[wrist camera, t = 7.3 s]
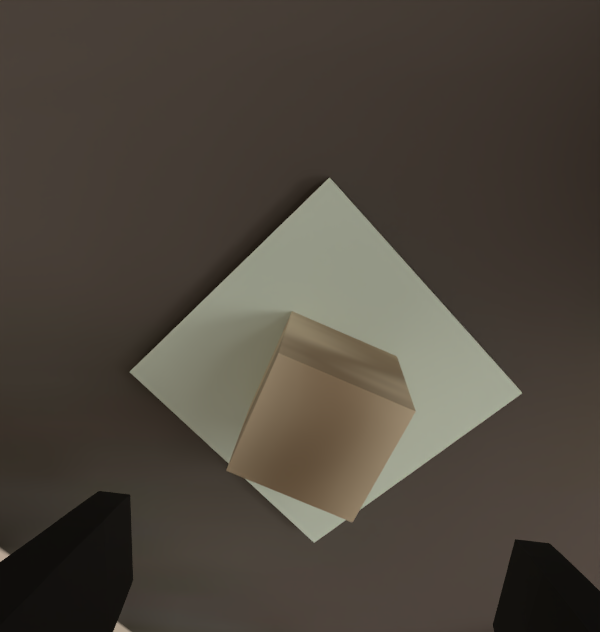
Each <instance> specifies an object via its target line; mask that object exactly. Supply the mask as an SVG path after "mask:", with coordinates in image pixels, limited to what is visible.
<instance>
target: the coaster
mask: <svg viewBox="0 0 600 632" xmlns="http://www.w3.org/2000/svg"><path fill="white" fill-rule="evenodd" d="M292 311H293V312H295V313H298V314H300V315H302V316H304V317H307V318H309V319H311V320H314V321H316V322H318V323H321V324H323V325H325V326H328V327H330V328H332V329H335V330H337V331H339V332H342V333H344V334H346V335H349V336H351V337H353V338H356V339H358V340H360V341H363V342H365V343H367V344H370V345H372V346H374V347H377V348H379V349H381V350H383V351H386V352H388V353H390V354H393V355H395V356H397V358H398V361H399V364H400V367H401V370H402V372H403V375H404V378H405V381H406V384H407V387H408V390H409V393H410V396H411V399H412V402H413V405H414V408H415V410H416V412H415V414H414V415H413V417H412V419H411V421H410V422H409V424H408V426H407V428H406V429H405V431H404V433H403V435H402V436H401V438H400V440H399V442H398V444H397V445H396V447H395V449H394V451H393V452H392V454H391V456H390V458H389V459H388V461H387V463H386V465H385V466H384V468H383V470H382V472H381V473H380V475H379V477H378V479H377V480H376V482H375V484H374V486H373V487H372V489H371V491H370V493H369V494H368V496H367V498H366V500H365V501H364V503H363V505H362V507H361V508H360V509H362V508H363V507H365V506H366V505H367V504H369V503H370V502H372V501H373V500H374V499H376V498H377V497H379V496H380V495H381V494H383V493H384V492H386V491H387V490H388V489H390V488H391V487H392V486H394V485H395V484H397V483H398V482H399V481H401V480H402V479H404V478H405V477H406V476H408V475H409V474H411V473H412V472H413V471H415V470H416V469H418V468H419V467H420V466H422V465H423V464H424V463H426V462H427V461H429V460H430V459H431V458H433V457H434V456H436V455H437V454H438V453H440V452H441V451H443V450H444V449H445V448H447V447H448V446H450V445H451V444H452V443H454V442H455V441H456V440H458V439H459V438H461V437H462V436H463V435H465V434H466V433H468V432H469V431H470V430H472V429H473V428H475V427H476V426H477V425H479V424H480V423H482V422H483V421H484V420H486V419H487V418H488V417H490V416H491V415H493V414H494V413H495V412H497V411H498V410H500V409H501V408H502V407H504V406H505V405H507V404H508V403H509V402H511V401H512V400H514V399H515V398H516V397H518V396H519V395H520V394H522V392H521V391H520V390H519V388H518V387H517V386H516V385H515V384H514V383H513V382H512V380H511V379H510V378H509V377H508V376H507V375H506V374H505V373H504V371H503V370H502V369H501V368H500V367H499V366H498V365H497V364H496V363H495V361H494V360H493V359H492V358H491V357H490V356H489V355H488V354H487V352H486V351H485V350H484V349H483V348H482V347H481V346H480V345H479V344H478V342H477V341H476V340H475V339H474V338H473V337H472V336H471V335H470V333H469V332H468V331H467V330H466V329H465V328H464V327H463V326H462V325H461V323H460V322H459V321H458V320H457V319H456V318H455V317H454V316H453V314H452V313H451V312H450V311H449V310H448V309H447V308H446V307H445V306H444V304H443V303H442V302H441V301H440V300H439V299H438V298H437V297H436V295H435V294H434V293H433V292H432V291H431V290H430V289H429V288H428V287H427V285H426V284H425V283H424V282H423V281H422V280H421V279H420V278H419V276H418V275H417V274H416V273H415V272H414V271H413V270H412V269H411V268H410V266H409V265H408V264H407V263H406V262H405V261H404V260H403V259H402V257H401V256H400V255H399V254H398V253H397V252H396V251H395V250H394V249H393V247H392V246H391V245H390V244H389V243H388V242H387V241H386V240H385V238H384V237H383V236H382V235H381V234H380V233H379V232H378V231H377V230H376V228H375V227H374V226H373V225H372V224H371V223H370V222H369V221H368V219H367V218H366V217H365V216H364V215H363V214H362V213H361V212H360V211H359V209H358V208H357V207H356V206H355V205H354V204H353V203H352V202H351V200H350V199H349V198H348V197H347V196H346V195H345V194H344V193H343V192H342V190H341V189H340V188H339V187H338V186H337V185H336V184H335V183H334V182H333V180H332V179H331V178H329V179H327V180H326V181H325V182H324V183H323V184H322V185H321V186H320V187H319V188H318V189H317V190H316V191H315V192H314V193H313V194H312V195H311V196H310V197H309V198H308V199H307V200H306V201H305V202H304V203H303V204H302V205H301V206H300V207H299V208H298V209H297V210H296V211H295V212H294V213H292V214H291V215H290V216H289V217H288V218H287V219H286V220H285V221H284V222H283V223H282V224H281V225H280V226H279V227H278V228H277V229H276V230H275V231H274V232H273V233H272V234H271V235H270V236H269V237H268V238H267V239H266V240H265V241H264V242H263V243H262V244H261V245H260V246H259V247H258V248H256V249H255V250H254V251H253V252H252V253H251V254H250V255H249V256H248V257H247V258H246V259H245V260H244V261H243V262H242V263H241V264H240V265H239V266H238V267H237V268H236V269H235V270H234V271H233V272H232V273H231V274H230V275H229V276H228V277H227V278H226V279H225V280H224V281H223V282H222V283H220V284H219V285H218V286H217V287H216V288H215V289H214V290H213V291H212V292H211V293H210V294H209V295H208V296H207V297H206V298H205V299H204V300H203V301H202V302H201V303H200V304H199V305H198V306H197V307H196V308H195V309H194V310H193V311H192V312H191V313H190V314H189V315H188V316H187V317H185V318H184V319H183V320H182V321H181V322H180V323H179V324H178V325H177V326H176V327H175V328H174V329H173V330H172V331H171V332H170V333H169V334H168V335H167V336H166V337H165V338H164V339H163V340H162V341H161V342H160V343H159V344H158V345H157V346H156V347H155V348H154V349H153V350H152V351H151V352H149V353H148V354H147V355H146V356H145V357H144V358H143V359H142V360H141V361H140V362H139V363H138V364H137V365H136V366H135V367H134V368H133V369H132V370H131V371H130V373H131V374H132V375H133V376H134V377H135V378H137V379H138V380H139V381H140V382H141V383H142V384H143V385H144V386H145V387H146V388H147V389H148V390H149V391H151V392H152V393H153V394H154V395H155V396H156V397H157V398H158V399H159V400H160V401H161V402H162V403H164V404H165V405H166V406H167V407H168V408H169V409H170V410H171V411H172V412H173V413H174V414H175V415H177V416H178V417H179V418H180V419H181V420H182V421H183V422H184V423H185V424H186V425H187V426H188V427H190V428H191V429H192V430H193V431H194V432H195V433H196V434H197V435H198V436H199V437H200V438H201V439H202V440H204V441H205V442H206V443H207V444H208V445H209V446H210V447H211V448H212V449H213V450H214V451H215V452H217V453H218V454H219V455H220V456H221V457H222V458H223V459H224V460H225V461H226V462H227V463H228V464H229V462H230V459H231V456H232V454H233V451H234V448H235V445H236V443H237V440H238V437H239V435H240V432H241V429H242V427H243V424H244V421H245V418H246V416H247V413H248V410H249V408H250V405H251V403H252V400H253V398H254V396H255V394H256V391H257V389H258V387H259V385H260V382H261V380H262V378H263V375H264V373H265V371H266V369H267V366H268V364H269V362H270V360H271V357H272V355H273V353H274V351H275V348H276V346H277V344H278V341H279V339H280V337H281V335H282V332H283V330H284V328H285V326H286V323H287V321H288V319H289V317H290V314H291V312H292ZM246 480H247V479H246ZM247 481H248V482H249V483H250V484H251V485H252V486H253V487H254V488H255V489H257V490H258V491H259V492H260V493H261V494H262V495H263V496H264V497H265V498H266V499H267V500H268V501H270V502H271V503H272V504H273V505H274V506H275V507H276V508H277V509H278V510H279V511H280V512H281V513H283V514H284V515H285V516H286V517H287V518H288V519H289V520H290V521H291V522H292V523H293V524H294V525H296V526H297V527H298V528H299V529H300V530H301V531H302V532H303V533H304V534H305V535H306V536H307V537H308V538H310V539H311V540H312V541H313V542H314V543H315V542H316V541H317V540H319V539H320V538H321V537H323V536H324V535H326V534H327V533H328V532H330V531H331V530H333V529H334V528H335V527H337V526H338V525H340V524H341V523H342V522H344V521H345V519H343V518H340V517H338V516H335V515H333V514H331V513H328V512H326V511H323V510H321V509H318V508H316V507H313V506H311V505H309V504H306V503H304V502H301V501H299V500H296V499H294V498H291V497H289V496H287V495H284V494H282V493H279V492H277V491H274V490H272V489H269V488H267V487H265V486H262V485H260V484H257V483H255V482H252V481H250V480H247Z"/></svg>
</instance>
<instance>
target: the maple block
mask: <svg viewBox="0 0 600 632" xmlns="http://www.w3.org/2000/svg"><path fill="white" fill-rule="evenodd" d="M415 412H416V410H415V408H414V405H413V402H412V399H411V396H410V393H409V390H408V387H407V384H406V381H405V378H404V375H403V372H402V370H401V367H400V364H399V361H398V358H397V356H395V355H393V354H390V353H388V352H386V351H383V350H381V349H379V348H377V347H374V346H372V345H370V344H367V343H365V342H363V341H360V340H358V339H356V338H353V337H351V336H349V335H346V334H344V333H342V332H339V331H337V330H335V329H332V328H330V327H328V326H325V325H323V324H321V323H318V322H316V321H314V320H311V319H309V318H307V317H304V316H302V315H300V314H298V313H295V312H293V311H292V312H291V314H290V317H289V319H288V321H287V323H286V326H285V328H284V330H283V332H282V335H281V337H280V339H279V341H278V344H277V346H276V348H275V351H274V353H273V355H272V357H271V360H270V362H269V364H268V366H267V369H266V371H265V373H264V375H263V378H262V380H261V382H260V385H259V387H258V389H257V391H256V394H255V396H254V398H253V400H252V403H251V405H250V408H249V410H248V413H247V416H246V418H245V421H244V424H243V427H242V429H241V432H240V435H239V437H238V440H237V443H236V445H235V448H234V451H233V454H232V456H231V459H230V462H229V464H228V467H227V470H226V471H228V472H230V473H233V474H235V475H238V476H240V477H243V478H245V479H247V480H250V481H252V482H255V483H257V484H260V485H262V486H265V487H267V488H269V489H272V490H274V491H277V492H279V493H282V494H284V495H287V496H289V497H291V498H294V499H296V500H299V501H301V502H304V503H306V504H309V505H311V506H313V507H316V508H318V509H321V510H323V511H326V512H328V513H331V514H333V515H335V516H338V517H340V518H343V519H345V520H348V521H350V522H353V521H354V519H355V517H356V516H357V514H358V512H359V510H360V508H361V507H362V505H363V503H364V501H365V500H366V498H367V496H368V494H369V493H370V491H371V489H372V487H373V486H374V484H375V482H376V480H377V479H378V477H379V475H380V473H381V472H382V470H383V468H384V466H385V465H386V463H387V461H388V459H389V458H390V456H391V454H392V452H393V451H394V449H395V447H396V445H397V444H398V442H399V440H400V438H401V436H402V435H403V433H404V431H405V429H406V428H407V426H408V424H409V422H410V421H411V419H412V417H413V415H414V414H415Z"/></svg>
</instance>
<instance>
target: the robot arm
mask: <svg viewBox="0 0 600 632" xmlns="http://www.w3.org/2000/svg"><path fill="white" fill-rule="evenodd" d="M132 581H133V567H132V537H131V508H130V495H128V494H119V493H111V492H102V491H98V492H97V493H96V494H94V495H93V496H91V497H90V498H88V499H87V500H86V501H84V502H83V503H81V504H80V505H79V506H77V507H76V508H74V509H73V510H72V511H70V512H69V513H68V514H66V515H65V516H64V517H62V518H61V519H59V520H58V521H57V522H55V523H54V524H53V525H51V526H50V527H49V528H47V529H46V530H44V531H43V532H42V533H40V534H39V535H38V536H36V537H35V538H33V539H32V540H31V541H29V542H28V543H26V544H25V545H24V546H22V547H21V548H19V549H18V550H17V551H15V552H14V553H12V554H11V555H9V556H8V557H7V558H5V559H4V560H2V561H1V562H0V632H113V630H114V628H115V625H116V623H117V620H118V618H119V615H120V613H121V610H122V608H123V605H124V602H125V600H126V597H127V594H128V592H129V589H130V587H131V584H132ZM493 628H494V632H600V591H599V590H598V589H597V588H596V587H595V586H594V585H593V584H592V583H591V582H590V581H589V580H588V579H587V578H586V577H585V576H584V575H583V574H582V573H581V572H579V571H578V570H577V569H576V568H575V567H574V566H573V565H572V564H571V563H570V562H569V561H568V560H567V559H566V558H565V557H564V556H563V555H562V554H561V553H559V552H558V551H557V550H556V549H555V548H554V547H553V546H552V545H551V544H549V543H541V542H533V541H524V540H516V539H515V542H514V546H513V550H512V554H511V558H510V561H509V565H508V569H507V573H506V577H505V581H504V584H503V588H502V592H501V596H500V600H499V604H498V607H497V611H496V615H495V619H494V623H493Z"/></svg>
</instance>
